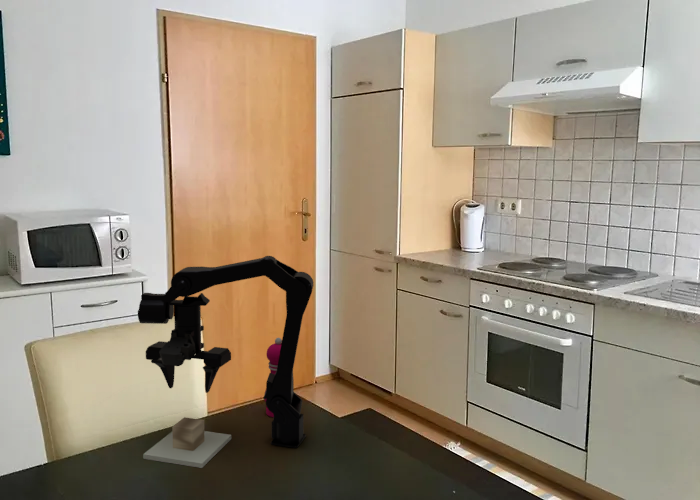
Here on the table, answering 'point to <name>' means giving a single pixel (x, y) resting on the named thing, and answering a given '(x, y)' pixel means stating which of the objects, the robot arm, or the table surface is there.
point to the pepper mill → (273, 362)
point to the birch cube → (188, 434)
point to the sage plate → (186, 457)
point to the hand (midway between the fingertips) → (189, 390)
